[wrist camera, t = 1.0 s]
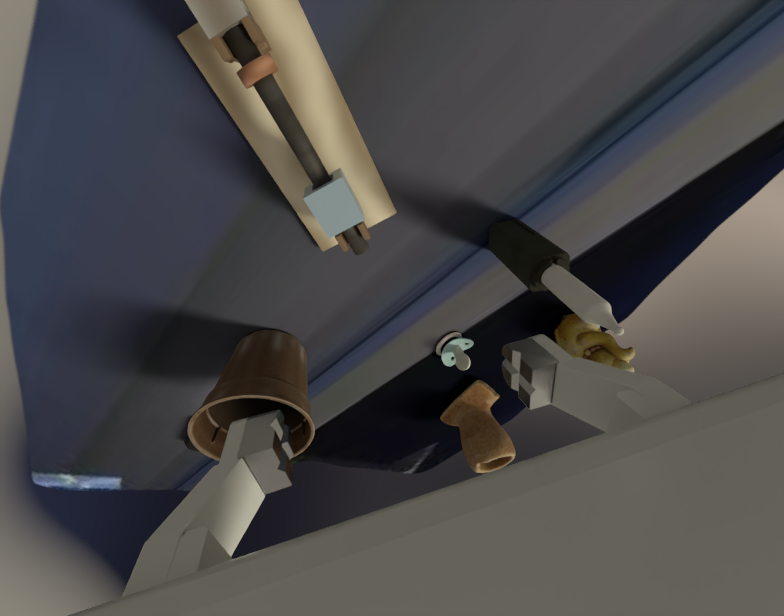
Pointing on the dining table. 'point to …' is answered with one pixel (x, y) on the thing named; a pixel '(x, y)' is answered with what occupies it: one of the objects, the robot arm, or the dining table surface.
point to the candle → (547, 270)
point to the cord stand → (286, 105)
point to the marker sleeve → (334, 204)
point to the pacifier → (455, 351)
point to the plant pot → (257, 391)
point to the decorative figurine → (591, 343)
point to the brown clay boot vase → (480, 428)
